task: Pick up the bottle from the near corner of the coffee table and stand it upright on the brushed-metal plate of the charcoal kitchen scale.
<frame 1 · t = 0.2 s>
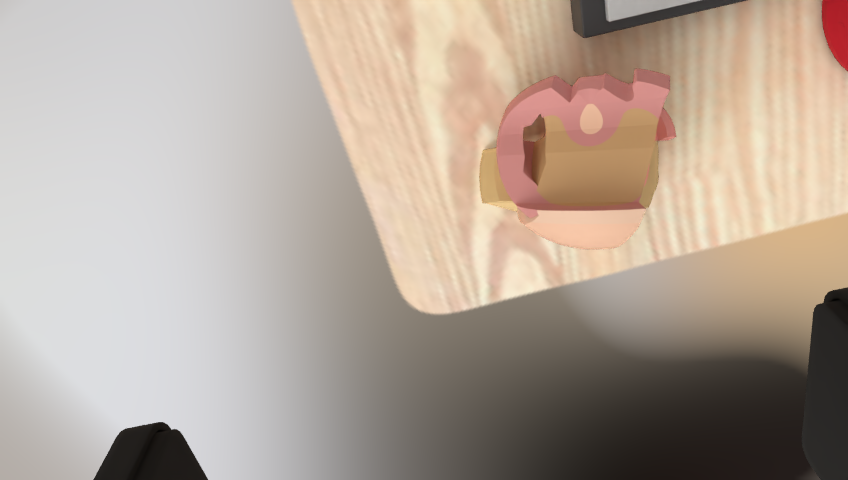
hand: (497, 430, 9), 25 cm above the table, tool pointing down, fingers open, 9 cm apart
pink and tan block: (555, 133, 34), on the table
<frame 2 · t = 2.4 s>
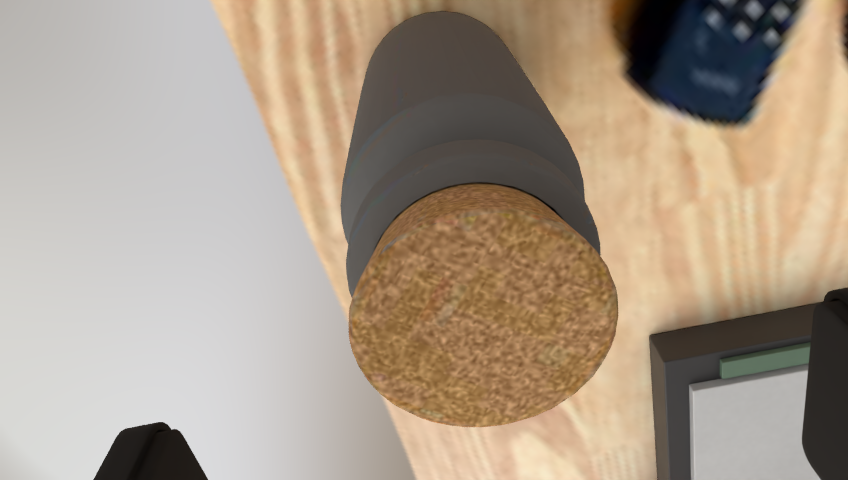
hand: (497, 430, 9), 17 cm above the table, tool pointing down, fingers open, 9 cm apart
scale: (760, 396, 32), on the table
bottle: (440, 88, 24), on the table
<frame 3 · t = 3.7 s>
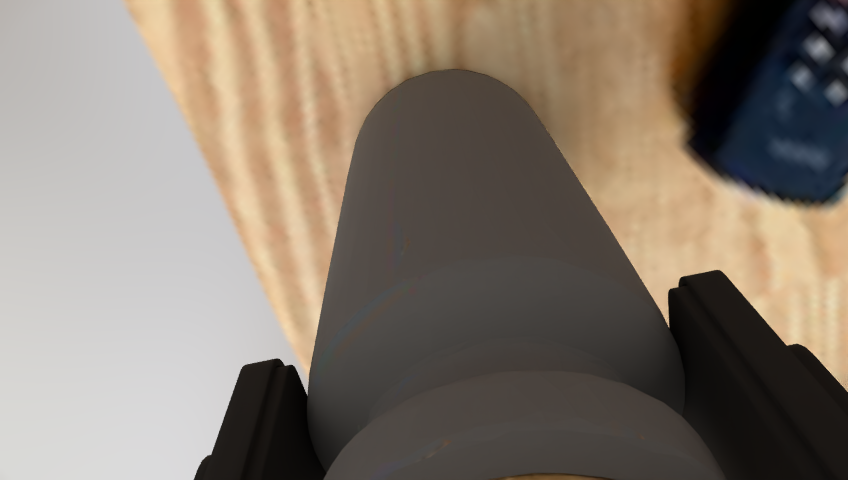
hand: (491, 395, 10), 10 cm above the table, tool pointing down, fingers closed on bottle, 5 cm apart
bottle: (449, 162, 19), on the table, touching gripper
when the fingers open (12 cm above the table, at t = 11.4 s): bottle stays where it is, resting on scale.
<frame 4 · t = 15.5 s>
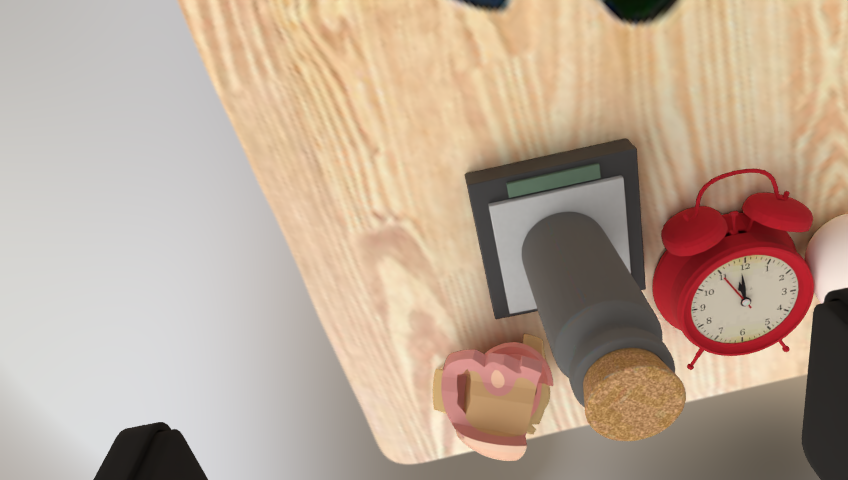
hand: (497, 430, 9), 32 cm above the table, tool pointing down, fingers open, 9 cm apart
alarm clock: (719, 253, 46), on the table
scale: (554, 226, 44), on the table
bottle: (562, 247, 42), point 2 cm above the table, touching scale
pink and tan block: (484, 358, 50), on the table
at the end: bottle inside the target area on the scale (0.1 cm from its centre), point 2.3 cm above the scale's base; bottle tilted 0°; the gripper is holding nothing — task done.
